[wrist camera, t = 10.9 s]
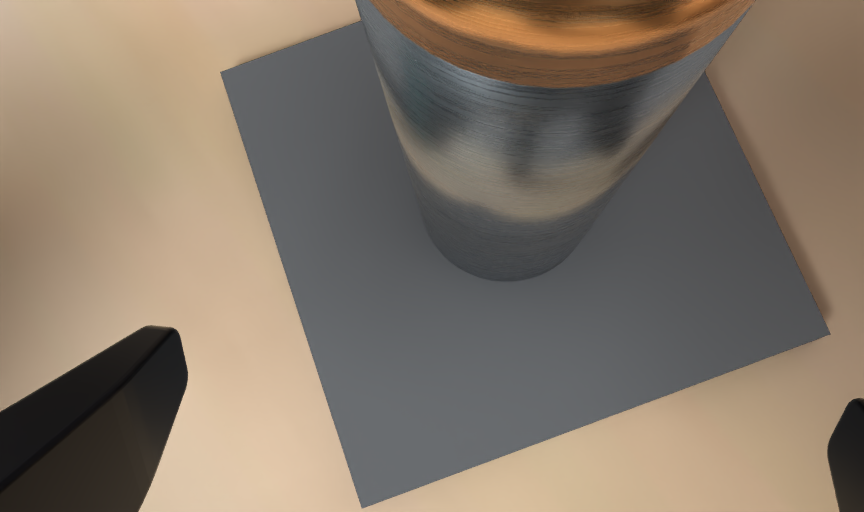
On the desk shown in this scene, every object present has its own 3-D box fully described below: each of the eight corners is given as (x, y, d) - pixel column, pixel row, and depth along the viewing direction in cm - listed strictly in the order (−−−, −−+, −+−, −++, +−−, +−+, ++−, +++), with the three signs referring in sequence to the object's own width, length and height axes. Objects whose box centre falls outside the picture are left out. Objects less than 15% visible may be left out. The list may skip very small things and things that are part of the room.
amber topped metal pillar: (516, 317, 17) (637, 119, 4) (385, 207, 18) (167, -233, 5) (628, 186, 18) (1024, -331, 5) (494, 83, 18) (541, -600, 6)
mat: (365, 504, 17) (362, 508, 17) (227, 81, 20) (220, 72, 19) (818, 335, 17) (831, 334, 17) (627, -65, 20) (632, -78, 19)
